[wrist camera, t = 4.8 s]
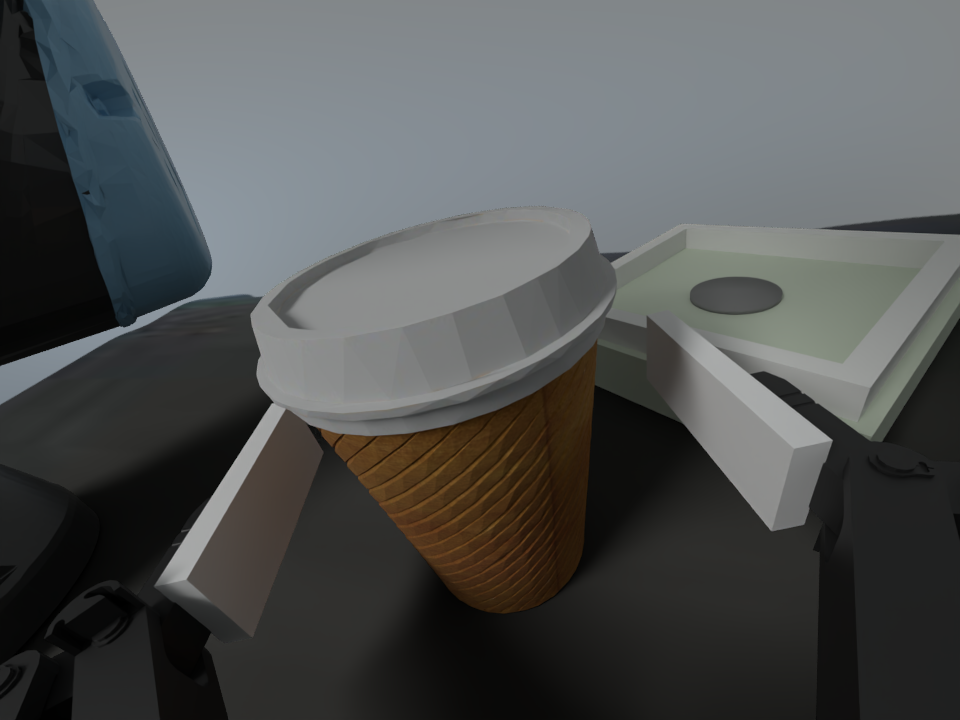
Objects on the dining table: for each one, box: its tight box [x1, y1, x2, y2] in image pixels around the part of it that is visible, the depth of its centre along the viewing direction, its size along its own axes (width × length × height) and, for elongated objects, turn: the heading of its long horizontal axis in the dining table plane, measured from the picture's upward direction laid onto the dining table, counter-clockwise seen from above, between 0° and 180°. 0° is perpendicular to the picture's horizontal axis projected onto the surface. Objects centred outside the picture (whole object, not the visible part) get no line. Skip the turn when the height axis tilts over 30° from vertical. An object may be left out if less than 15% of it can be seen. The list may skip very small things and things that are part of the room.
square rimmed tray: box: [595, 224, 960, 442], centre depth 22 cm, size 16×16×4 cm
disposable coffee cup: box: [251, 206, 617, 614], centre depth 13 cm, size 10×10×12 cm
